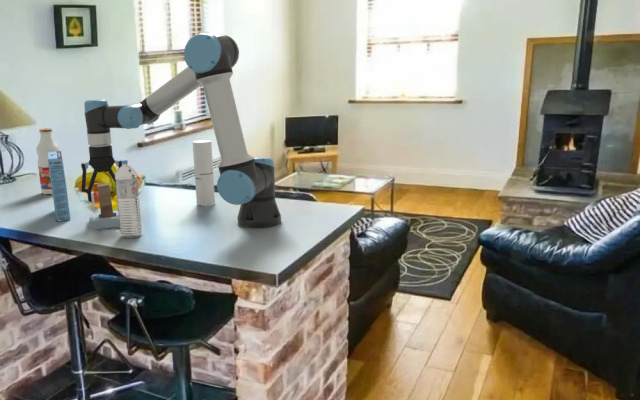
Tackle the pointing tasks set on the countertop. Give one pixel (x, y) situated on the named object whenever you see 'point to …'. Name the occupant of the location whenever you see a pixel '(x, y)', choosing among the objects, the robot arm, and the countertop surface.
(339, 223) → the countertop surface
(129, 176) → the water bottle
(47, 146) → the fruit juice
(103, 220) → the socket block
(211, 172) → the cylindrical container
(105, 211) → the peg
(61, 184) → the blue cardboard box
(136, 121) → the robot arm
